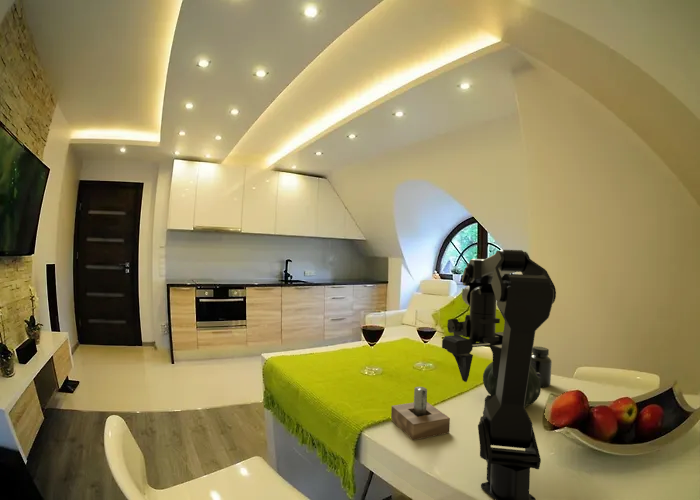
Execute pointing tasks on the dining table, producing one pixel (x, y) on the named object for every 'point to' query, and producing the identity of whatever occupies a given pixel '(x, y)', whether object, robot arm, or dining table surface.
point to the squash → (532, 386)
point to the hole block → (420, 421)
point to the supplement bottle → (542, 365)
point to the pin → (420, 401)
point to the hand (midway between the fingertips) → (480, 379)
